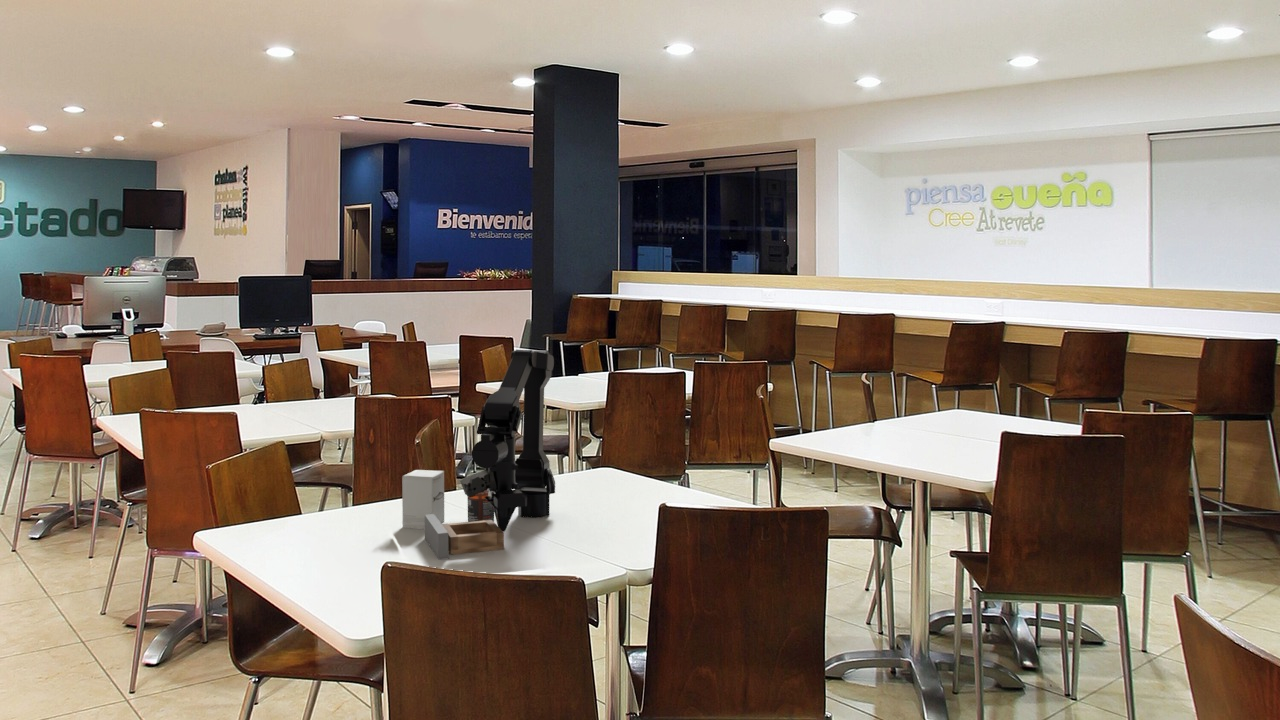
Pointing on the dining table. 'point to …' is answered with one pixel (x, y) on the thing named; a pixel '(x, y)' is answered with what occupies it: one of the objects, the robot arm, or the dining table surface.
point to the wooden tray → (474, 536)
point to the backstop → (436, 536)
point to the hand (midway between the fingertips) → (501, 531)
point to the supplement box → (422, 497)
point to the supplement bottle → (480, 508)
